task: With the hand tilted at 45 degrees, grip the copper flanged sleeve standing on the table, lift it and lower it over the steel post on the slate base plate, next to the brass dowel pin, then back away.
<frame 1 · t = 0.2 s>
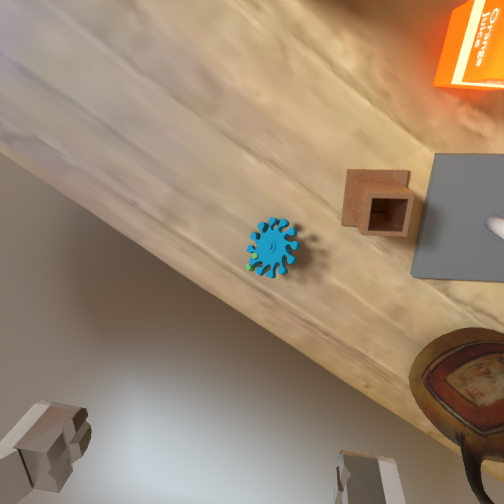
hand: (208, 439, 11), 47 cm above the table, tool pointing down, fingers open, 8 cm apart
base plate: (488, 219, 53), on the table
copper sleeve: (372, 198, 53), on the table
orange juice: (471, 52, 45), on the table
ceramic pitcher: (458, 360, 64), on the table
gear: (271, 240, 59), on the table
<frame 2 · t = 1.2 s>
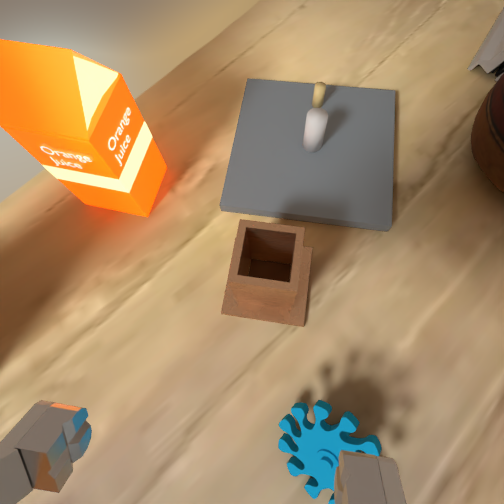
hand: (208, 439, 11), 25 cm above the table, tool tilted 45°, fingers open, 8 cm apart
base plate: (310, 152, 44), on the table
copper sleeve: (268, 280, 38), on the table
orange juice: (127, 185, 44), on the table
gear: (327, 452, 32), on the table
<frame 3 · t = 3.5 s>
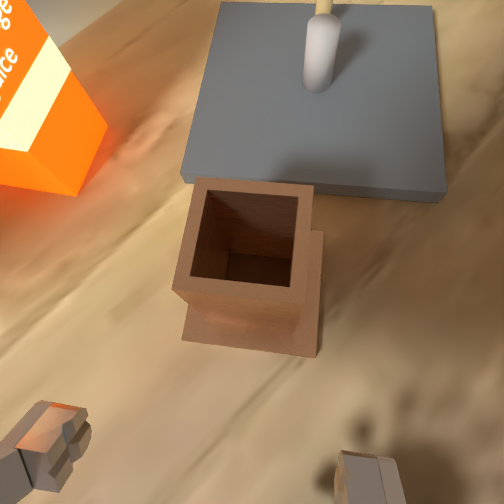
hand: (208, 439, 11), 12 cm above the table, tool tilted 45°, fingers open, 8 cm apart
base plate: (314, 96, 30), on the table
copper sleeve: (256, 285, 24), on the table
orange juice: (50, 154, 30), on the table
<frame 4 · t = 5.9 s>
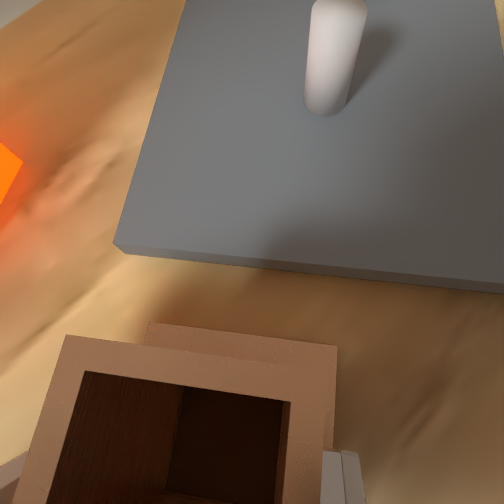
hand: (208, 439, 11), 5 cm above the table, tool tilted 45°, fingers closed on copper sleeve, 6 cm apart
base plate: (321, 119, 21), on the table
copper sleeve: (226, 438, 15), on the table, touching gripper
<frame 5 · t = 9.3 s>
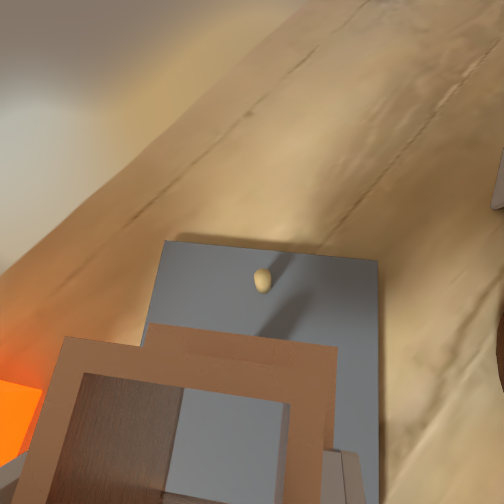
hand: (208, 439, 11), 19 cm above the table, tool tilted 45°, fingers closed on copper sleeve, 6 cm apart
base plate: (255, 362, 29), on the table
copper sleeve: (226, 439, 15), point 14 cm above the table, touching gripper
when the fingers open (8 cm above the table, at t = 12.8 s): copper sleeve drops 1 cm, resting on base plate.
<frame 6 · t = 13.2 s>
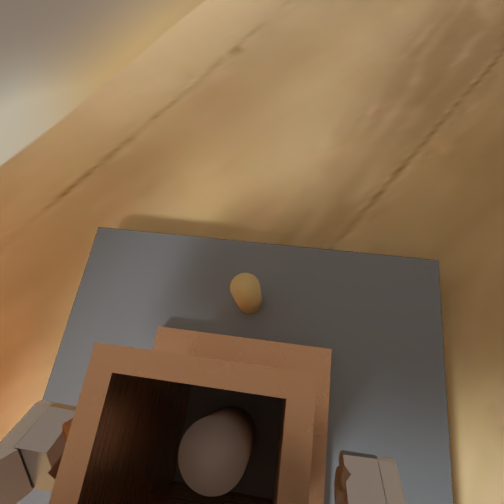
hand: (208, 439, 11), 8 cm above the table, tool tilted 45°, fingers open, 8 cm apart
base plate: (235, 429, 18), on the table
copper sleeve: (230, 433, 16), point 1 cm above the table, touching base plate
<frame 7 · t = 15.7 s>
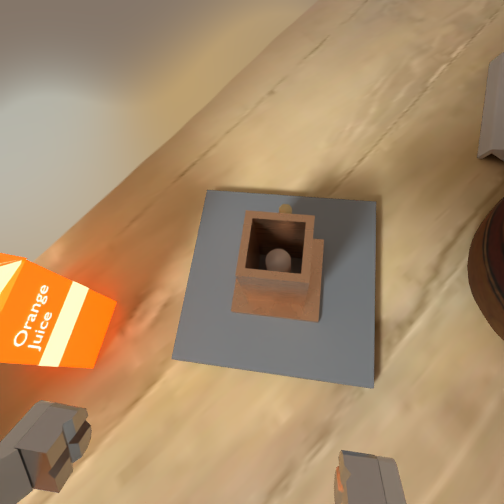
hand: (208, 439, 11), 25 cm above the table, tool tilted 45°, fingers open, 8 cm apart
base plate: (279, 279, 38), on the table
copper sleeve: (278, 276, 36), point 1 cm above the table, touching base plate
orange juice: (72, 326, 39), on the table
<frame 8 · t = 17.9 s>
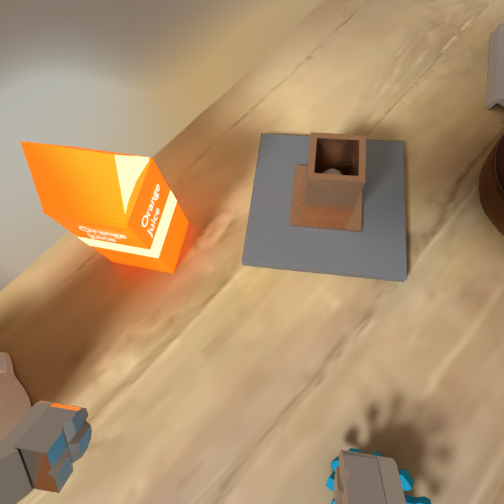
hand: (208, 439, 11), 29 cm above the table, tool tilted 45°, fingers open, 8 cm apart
base plate: (325, 203, 46), on the table
copper sleeve: (326, 198, 45), point 1 cm above the table, touching base plate
orange juice: (151, 242, 46), on the table
gear: (370, 497, 34), on the table
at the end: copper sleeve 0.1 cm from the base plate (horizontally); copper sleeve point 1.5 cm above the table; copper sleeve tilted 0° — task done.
